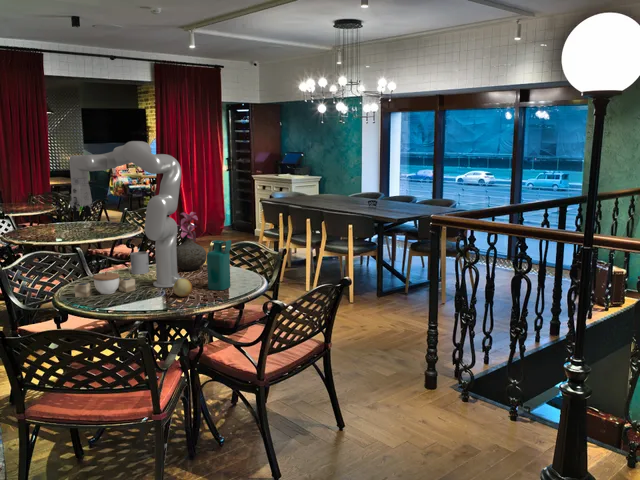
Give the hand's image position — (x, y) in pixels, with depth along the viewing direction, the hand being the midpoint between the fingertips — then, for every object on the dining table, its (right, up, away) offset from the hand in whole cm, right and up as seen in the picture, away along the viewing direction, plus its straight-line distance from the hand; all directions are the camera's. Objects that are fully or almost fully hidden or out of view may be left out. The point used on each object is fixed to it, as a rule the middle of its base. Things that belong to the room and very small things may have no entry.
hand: (82, 218), depth 276 cm
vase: (+45, -26, +28) cm, 59 cm away
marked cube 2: (+26, -33, -15) cm, 45 cm away
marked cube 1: (+10, -35, -24) cm, 43 cm away
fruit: (+54, -35, -27) cm, 70 cm away
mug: (+21, -27, +24) cm, 41 cm away
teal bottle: (+67, -33, -12) cm, 76 cm away
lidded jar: (+19, -34, -19) cm, 43 cm away
